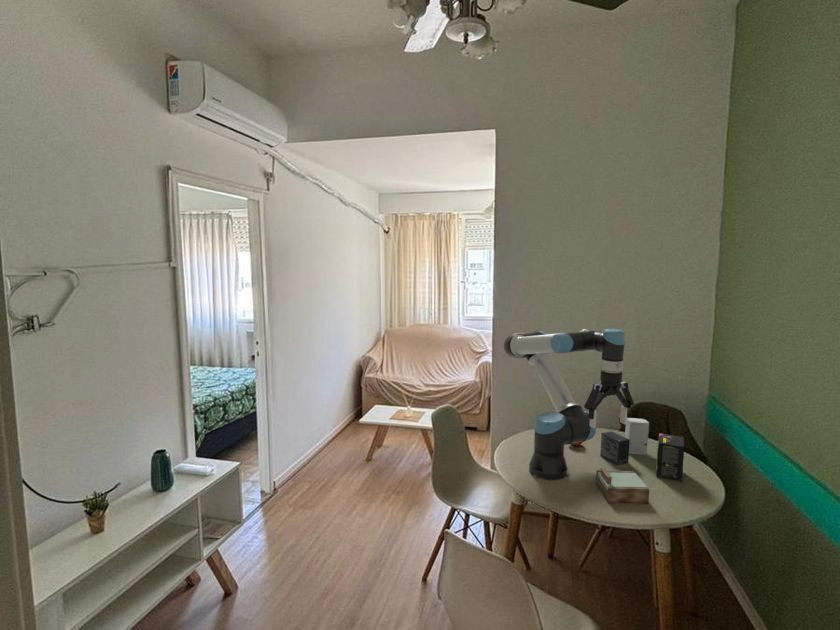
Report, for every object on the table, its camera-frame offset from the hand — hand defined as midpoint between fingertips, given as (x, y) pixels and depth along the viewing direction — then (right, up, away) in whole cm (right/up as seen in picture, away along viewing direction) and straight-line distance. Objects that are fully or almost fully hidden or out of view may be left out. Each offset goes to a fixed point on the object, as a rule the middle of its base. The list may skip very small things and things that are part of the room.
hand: (607, 425), depth 181 cm
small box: (+13, -21, +25) cm, 35 cm away
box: (+3, -24, -4) cm, 25 cm away
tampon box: (+29, -22, +11) cm, 38 cm away
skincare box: (+25, -20, +32) cm, 45 cm away
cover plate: (+3, -20, -5) cm, 21 cm away
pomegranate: (0, -19, +40) cm, 44 cm away
